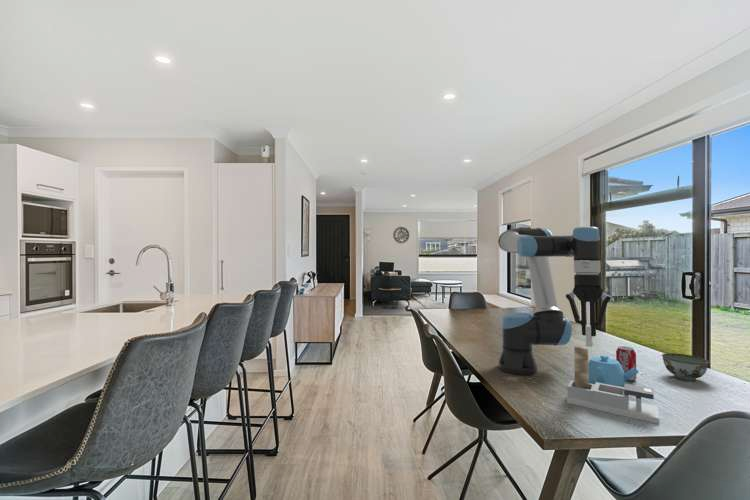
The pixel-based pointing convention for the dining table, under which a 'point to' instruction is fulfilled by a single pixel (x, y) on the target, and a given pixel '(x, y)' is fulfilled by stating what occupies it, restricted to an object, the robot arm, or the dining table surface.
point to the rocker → (638, 391)
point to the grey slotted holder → (611, 401)
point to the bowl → (685, 366)
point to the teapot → (608, 371)
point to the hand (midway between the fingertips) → (589, 345)
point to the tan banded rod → (581, 367)
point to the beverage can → (626, 359)
